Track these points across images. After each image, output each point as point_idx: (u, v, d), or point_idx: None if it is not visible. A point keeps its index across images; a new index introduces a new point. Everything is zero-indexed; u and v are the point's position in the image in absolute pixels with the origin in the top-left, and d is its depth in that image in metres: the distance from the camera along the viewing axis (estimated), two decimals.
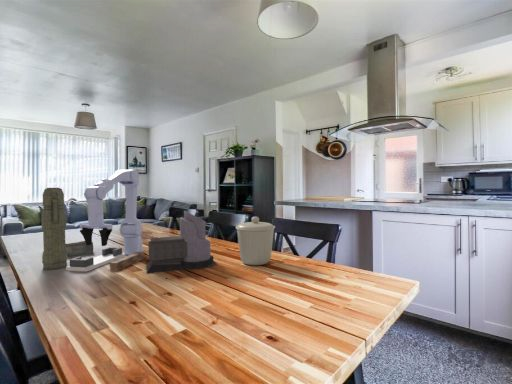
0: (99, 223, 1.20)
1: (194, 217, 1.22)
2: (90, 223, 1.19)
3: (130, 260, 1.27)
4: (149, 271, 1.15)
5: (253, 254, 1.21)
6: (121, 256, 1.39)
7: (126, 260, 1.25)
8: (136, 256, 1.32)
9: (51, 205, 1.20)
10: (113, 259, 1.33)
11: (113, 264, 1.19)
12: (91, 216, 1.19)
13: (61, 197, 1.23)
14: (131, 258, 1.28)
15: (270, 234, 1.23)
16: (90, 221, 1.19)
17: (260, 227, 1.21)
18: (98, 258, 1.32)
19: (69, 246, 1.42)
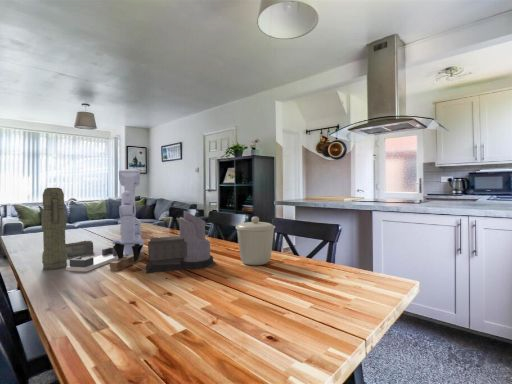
0: (131, 239, 1.27)
1: (194, 217, 1.22)
2: (123, 239, 1.26)
3: (130, 260, 1.27)
4: (149, 271, 1.14)
5: (253, 254, 1.21)
6: None
7: (126, 260, 1.25)
8: None
9: (51, 205, 1.20)
10: (113, 259, 1.33)
11: (113, 264, 1.19)
12: (124, 233, 1.25)
13: (61, 197, 1.23)
14: (131, 258, 1.28)
15: (270, 234, 1.23)
16: (123, 238, 1.26)
17: (260, 227, 1.21)
18: (98, 258, 1.32)
19: (69, 246, 1.42)
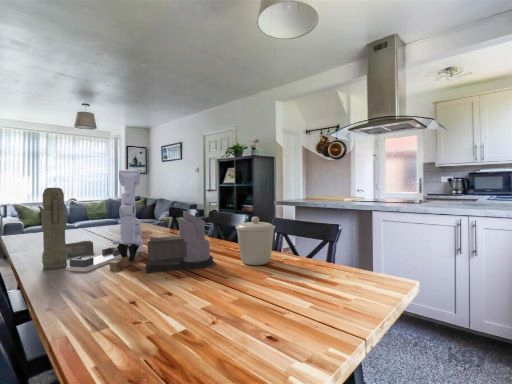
0: (131, 240, 1.27)
1: (193, 217, 1.21)
2: (123, 240, 1.26)
3: None
4: (148, 271, 1.14)
5: (253, 254, 1.21)
6: (121, 256, 1.39)
7: (126, 260, 1.25)
8: (136, 256, 1.32)
9: (50, 205, 1.20)
10: (113, 259, 1.33)
11: (113, 264, 1.19)
12: (124, 233, 1.25)
13: (61, 197, 1.23)
14: None
15: (270, 234, 1.23)
16: (123, 238, 1.26)
17: (260, 227, 1.21)
18: (98, 258, 1.32)
19: (69, 246, 1.42)
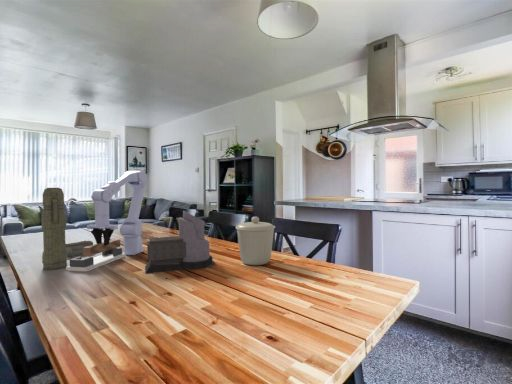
0: (105, 224, 1.28)
1: (193, 217, 1.21)
2: (97, 224, 1.27)
3: (104, 246, 1.29)
4: (148, 271, 1.14)
5: (253, 254, 1.21)
6: (121, 256, 1.39)
7: (100, 246, 1.26)
8: (111, 243, 1.33)
9: (50, 205, 1.20)
10: (113, 259, 1.33)
11: (86, 249, 1.20)
12: (98, 217, 1.27)
13: (61, 197, 1.23)
14: None
15: (270, 234, 1.23)
16: (97, 222, 1.27)
17: (260, 227, 1.21)
18: (98, 258, 1.32)
19: (69, 246, 1.42)
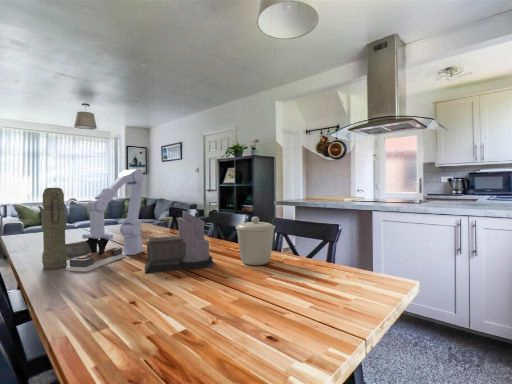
0: (100, 234, 1.29)
1: (192, 217, 1.21)
2: (92, 234, 1.27)
3: (99, 255, 1.29)
4: (147, 271, 1.14)
5: (253, 254, 1.21)
6: (121, 256, 1.39)
7: (95, 255, 1.27)
8: (106, 251, 1.34)
9: (51, 205, 1.20)
10: (113, 259, 1.33)
11: (81, 259, 1.21)
12: (93, 227, 1.27)
13: (61, 197, 1.23)
14: None
15: (270, 234, 1.23)
16: (92, 232, 1.27)
17: (260, 227, 1.21)
18: None
19: (69, 246, 1.42)
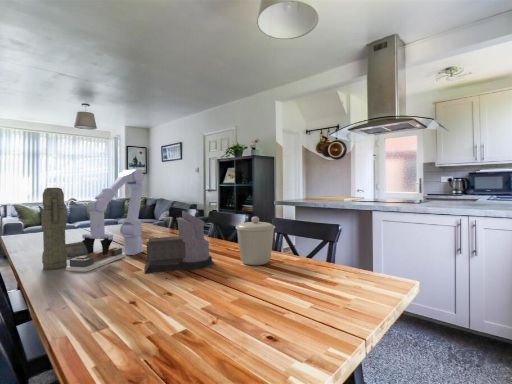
0: (100, 234, 1.29)
1: (192, 217, 1.21)
2: (92, 234, 1.27)
3: (99, 255, 1.29)
4: (147, 271, 1.14)
5: (253, 254, 1.21)
6: (121, 256, 1.39)
7: (95, 255, 1.27)
8: None
9: (51, 205, 1.20)
10: (113, 259, 1.33)
11: (81, 259, 1.21)
12: (93, 227, 1.27)
13: (61, 197, 1.23)
14: (101, 253, 1.30)
15: (270, 234, 1.23)
16: (92, 232, 1.27)
17: (260, 227, 1.21)
18: None
19: (70, 246, 1.42)
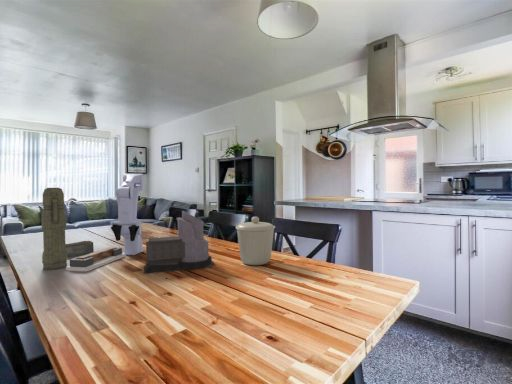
0: (128, 220, 1.32)
1: (192, 217, 1.21)
2: (120, 220, 1.31)
3: (99, 255, 1.29)
4: (146, 271, 1.14)
5: (253, 254, 1.21)
6: (121, 256, 1.39)
7: (95, 255, 1.27)
8: (106, 251, 1.34)
9: (51, 205, 1.20)
10: (113, 259, 1.33)
11: (81, 259, 1.21)
12: (121, 214, 1.31)
13: (61, 197, 1.23)
14: (101, 253, 1.30)
15: (270, 234, 1.23)
16: (120, 218, 1.31)
17: (260, 227, 1.21)
18: None
19: (70, 246, 1.42)
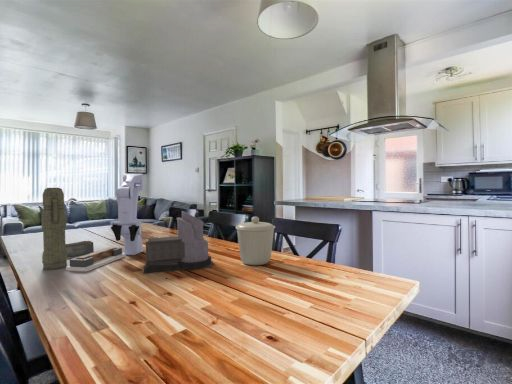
0: (128, 220, 1.32)
1: (191, 217, 1.21)
2: (120, 220, 1.31)
3: (99, 255, 1.29)
4: (146, 271, 1.14)
5: (253, 254, 1.21)
6: (121, 256, 1.39)
7: (95, 255, 1.27)
8: (106, 251, 1.34)
9: (51, 205, 1.20)
10: (113, 259, 1.33)
11: (81, 259, 1.21)
12: (121, 214, 1.31)
13: (61, 197, 1.23)
14: (101, 253, 1.30)
15: (270, 234, 1.23)
16: (120, 218, 1.31)
17: (260, 227, 1.21)
18: None
19: (70, 246, 1.42)
